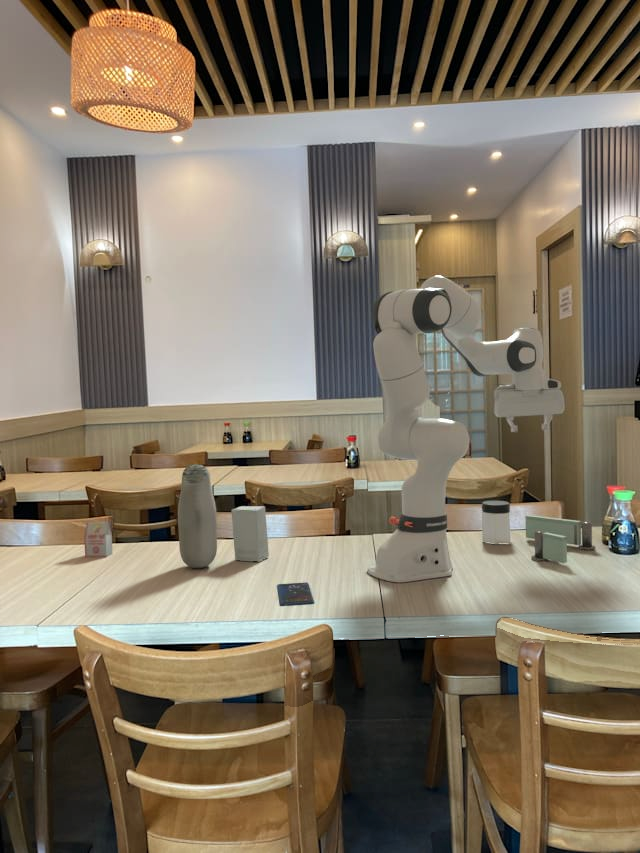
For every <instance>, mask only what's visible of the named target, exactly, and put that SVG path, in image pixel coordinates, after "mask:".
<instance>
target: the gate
mask: <svg viewBox="0 0 640 853" xmlns="http://www.w3.org/2000/svg"><path fill="white" fill-rule="evenodd" d="M524 517H525V518H524V519H525V538H526V539H533V540H535V531H544V532H545V533H546V532H547V533H552V534H557V535H561V536H566V537H567V544H568V545H575V546H579V545H582V521H581V520H574V519H566V518H559V517H558V518H557V517H549V516H540V515H531V514H527V515H525V516H524Z"/></svg>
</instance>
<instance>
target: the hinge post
mask: <svg viewBox="0 0 640 853" xmlns="http://www.w3.org/2000/svg"><path fill="white" fill-rule="evenodd" d="M579 548H581V549H580V550H582V549H585V550H584V551H595V550H596V546H595V545H593V523H592V521H581V544H580V545H578V549H579ZM594 549H595V550H594Z"/></svg>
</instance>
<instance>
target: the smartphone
mask: <svg viewBox="0 0 640 853" xmlns="http://www.w3.org/2000/svg"><path fill="white" fill-rule="evenodd" d="M276 588H277V593H278V600H279V601H278V602H279V606H281V607H285V606H296V605H299V606H300V605H314V604H315V600H314V596H313V595H312V591H311V590H312V589H311V587H310V585H309V582H293V583H292V582H291V583H278V584H277V587H276Z"/></svg>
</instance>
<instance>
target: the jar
mask: <svg viewBox="0 0 640 853" xmlns="http://www.w3.org/2000/svg"><path fill="white" fill-rule="evenodd" d="M481 529H482V530H481V535H482V536H481V539H482V541H484V542H490V543H494V544H499V543H510V542H511V503H510V502H509V501H504V500H486V501H483V502H481ZM482 541H481V542H482Z"/></svg>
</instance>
